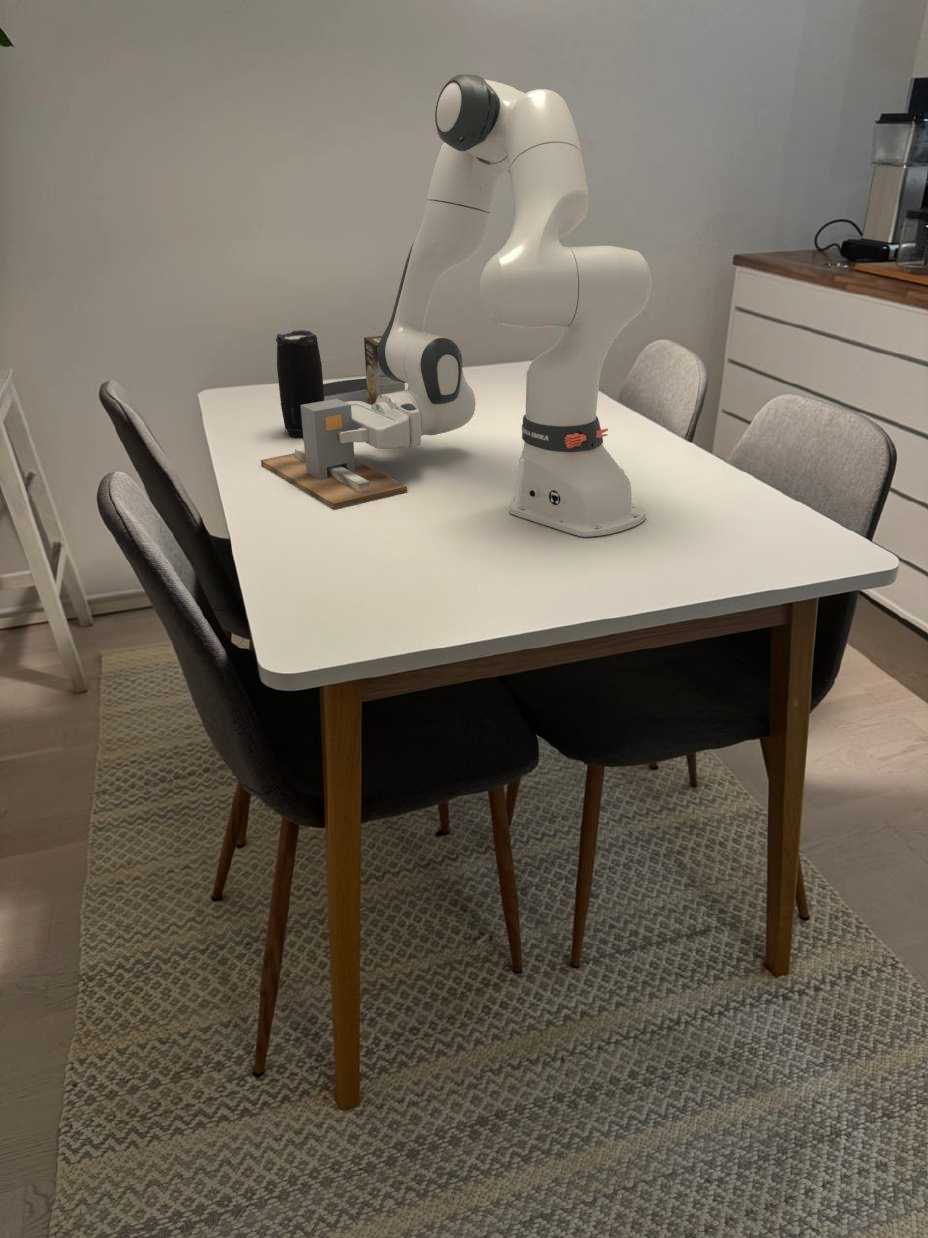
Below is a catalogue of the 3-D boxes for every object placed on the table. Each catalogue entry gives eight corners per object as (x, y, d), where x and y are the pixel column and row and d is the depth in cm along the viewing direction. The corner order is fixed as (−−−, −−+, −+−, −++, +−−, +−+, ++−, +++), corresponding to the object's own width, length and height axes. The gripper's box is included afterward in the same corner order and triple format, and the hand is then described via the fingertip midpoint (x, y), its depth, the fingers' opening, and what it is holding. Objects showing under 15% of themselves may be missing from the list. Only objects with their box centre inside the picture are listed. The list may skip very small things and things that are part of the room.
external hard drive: (403, 403, 209) (402, 385, 207) (325, 416, 200) (324, 397, 198) (376, 391, 218) (375, 374, 217) (301, 403, 209) (299, 385, 207)
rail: (407, 491, 156) (406, 477, 154) (334, 509, 148) (332, 494, 147) (329, 451, 176) (328, 438, 175) (261, 465, 169) (259, 452, 167)
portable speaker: (306, 424, 192) (298, 327, 183) (336, 432, 187) (329, 333, 178) (273, 433, 187) (263, 334, 178) (303, 441, 181) (294, 340, 172)
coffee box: (366, 412, 201) (362, 336, 193) (394, 409, 203) (391, 334, 195) (379, 422, 193) (375, 344, 186) (408, 419, 195) (405, 342, 188)
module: (355, 472, 162) (351, 404, 156) (319, 480, 158) (314, 411, 152) (341, 465, 165) (336, 398, 160) (306, 472, 162) (300, 404, 156)
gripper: (364, 389, 171) (297, 400, 164) (424, 412, 156) (353, 426, 149) (366, 422, 174) (300, 435, 167) (425, 448, 159) (355, 463, 152)
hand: (325, 431), depth 158 cm, fingers open, 8 cm apart
